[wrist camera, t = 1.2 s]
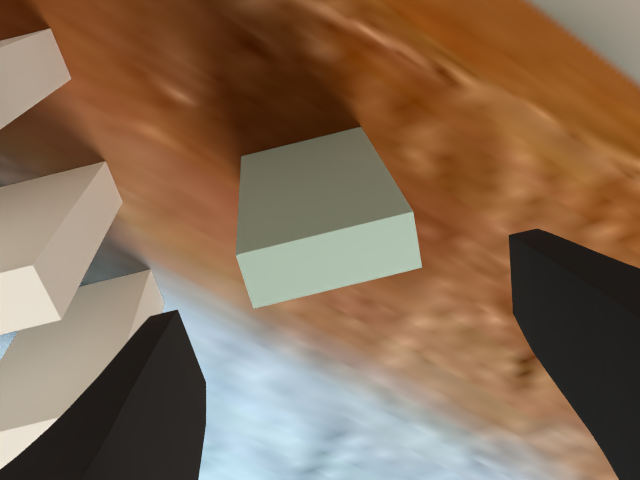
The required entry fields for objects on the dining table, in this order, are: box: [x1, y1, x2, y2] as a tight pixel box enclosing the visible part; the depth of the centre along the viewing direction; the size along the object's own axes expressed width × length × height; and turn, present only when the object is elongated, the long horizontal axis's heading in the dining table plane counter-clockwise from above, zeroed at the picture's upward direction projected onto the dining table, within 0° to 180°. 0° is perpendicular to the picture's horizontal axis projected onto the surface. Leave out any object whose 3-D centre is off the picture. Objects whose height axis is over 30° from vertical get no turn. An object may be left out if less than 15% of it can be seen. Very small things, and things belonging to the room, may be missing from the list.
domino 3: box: [0, 161, 122, 335], centre depth 17 cm, size 2×4×8 cm, turn 103°
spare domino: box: [236, 127, 422, 309], centre depth 18 cm, size 2×4×8 cm, turn 103°
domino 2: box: [0, 269, 164, 469], centre depth 19 cm, size 2×4×8 cm, turn 103°
